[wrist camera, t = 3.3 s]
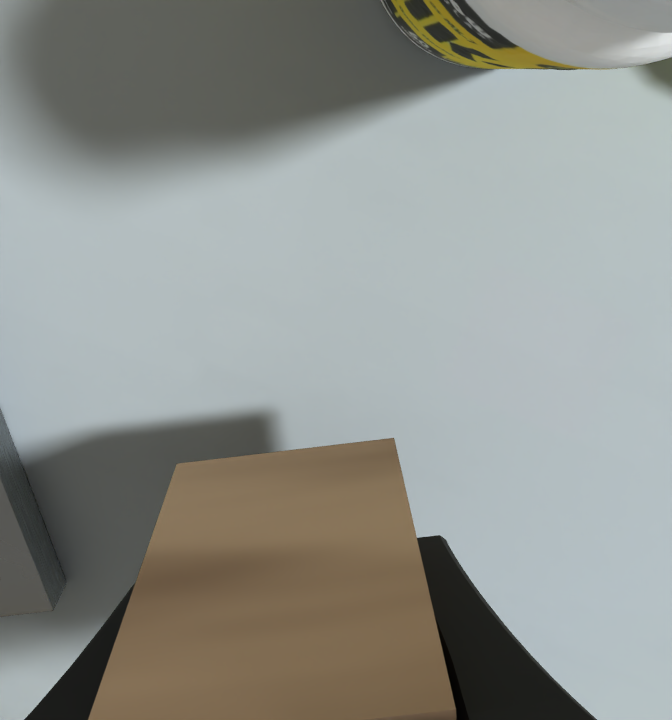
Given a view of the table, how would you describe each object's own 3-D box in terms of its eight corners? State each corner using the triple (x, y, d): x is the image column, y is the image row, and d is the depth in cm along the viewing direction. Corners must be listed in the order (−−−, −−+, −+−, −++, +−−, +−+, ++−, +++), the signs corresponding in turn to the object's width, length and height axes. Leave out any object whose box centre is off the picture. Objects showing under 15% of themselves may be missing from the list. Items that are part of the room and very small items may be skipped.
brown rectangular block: (412, 640, 15) (469, 963, 10) (228, 661, 15) (180, 994, 10) (393, 437, 13) (456, 709, 7) (176, 463, 13) (77, 751, 7)
